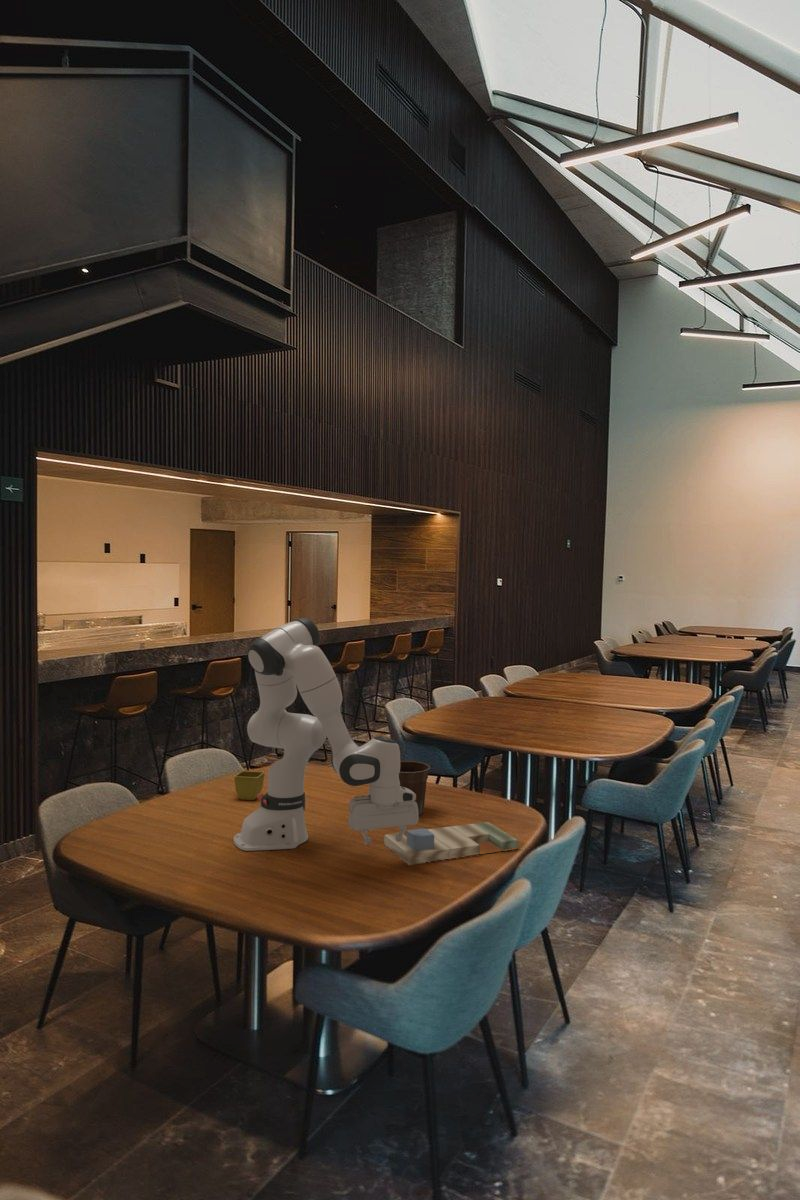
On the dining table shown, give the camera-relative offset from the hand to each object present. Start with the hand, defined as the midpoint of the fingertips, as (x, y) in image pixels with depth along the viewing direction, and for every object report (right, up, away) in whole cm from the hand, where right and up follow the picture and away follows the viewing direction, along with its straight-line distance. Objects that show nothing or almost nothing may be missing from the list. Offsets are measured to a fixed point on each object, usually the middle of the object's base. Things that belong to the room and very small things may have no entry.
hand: (383, 842), depth 217 cm
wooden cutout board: (+20, -6, +14) cm, 25 cm away
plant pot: (+7, -5, +47) cm, 48 cm away
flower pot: (-50, -3, +60) cm, 78 cm away
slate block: (+11, -3, +6) cm, 12 cm away
